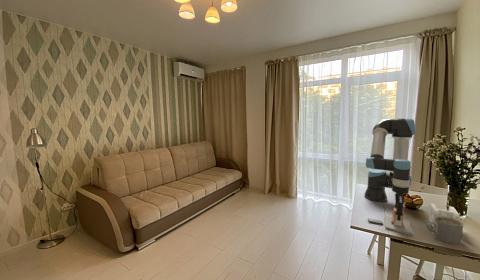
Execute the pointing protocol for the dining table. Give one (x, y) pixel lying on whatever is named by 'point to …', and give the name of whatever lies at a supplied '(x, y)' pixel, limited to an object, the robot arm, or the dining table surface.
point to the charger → (395, 216)
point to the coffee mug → (447, 229)
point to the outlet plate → (403, 230)
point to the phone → (375, 221)
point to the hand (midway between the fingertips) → (397, 222)
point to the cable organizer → (442, 213)
